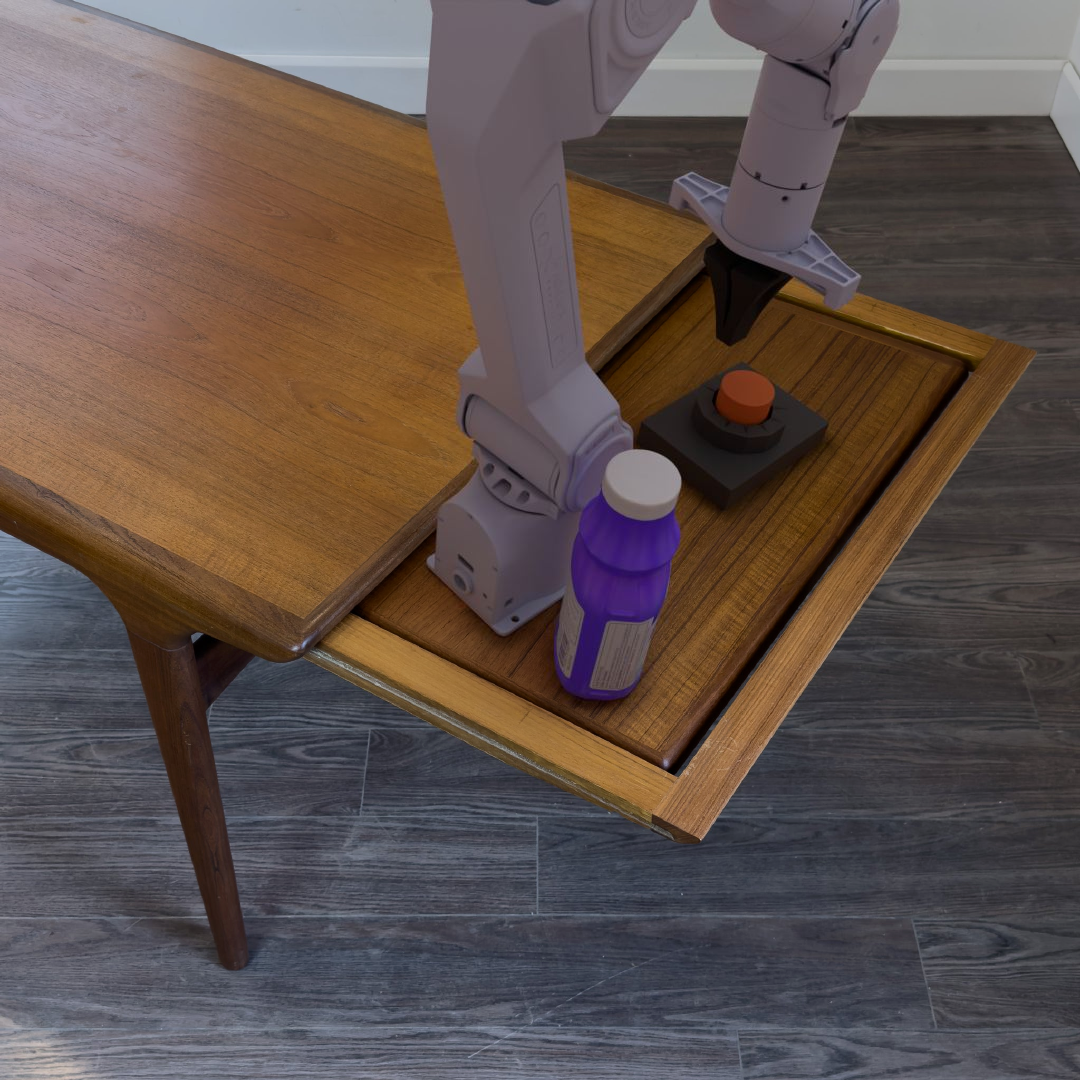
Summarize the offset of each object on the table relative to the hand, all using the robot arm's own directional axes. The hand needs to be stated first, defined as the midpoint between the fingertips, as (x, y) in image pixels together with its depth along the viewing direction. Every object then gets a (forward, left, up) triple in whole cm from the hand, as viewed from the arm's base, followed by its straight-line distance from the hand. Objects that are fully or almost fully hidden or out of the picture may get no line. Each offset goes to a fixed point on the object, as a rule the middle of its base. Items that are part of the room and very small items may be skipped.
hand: (730, 336), depth 79 cm
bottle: (-22, -10, -10) cm, 26 cm away
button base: (+1, -2, -9) cm, 10 cm away
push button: (+1, -2, -6) cm, 6 cm away
